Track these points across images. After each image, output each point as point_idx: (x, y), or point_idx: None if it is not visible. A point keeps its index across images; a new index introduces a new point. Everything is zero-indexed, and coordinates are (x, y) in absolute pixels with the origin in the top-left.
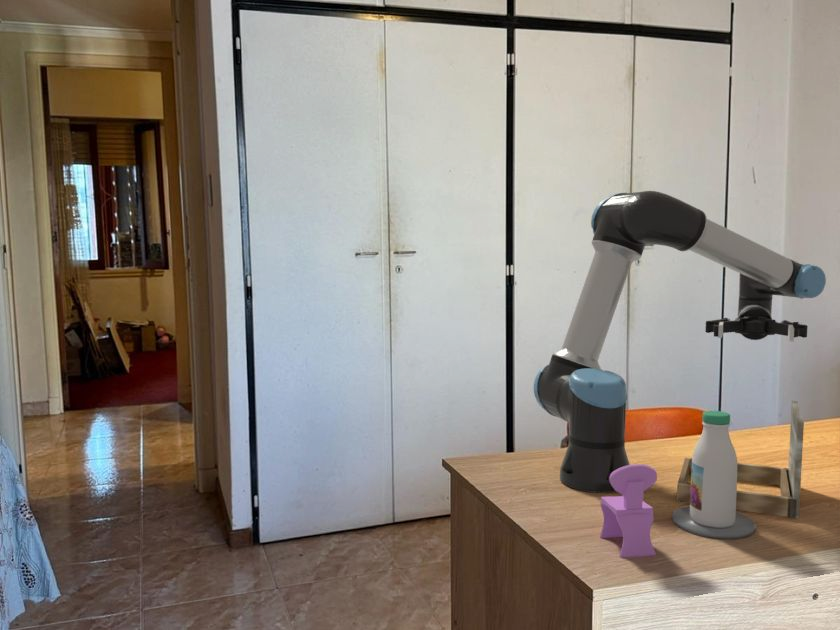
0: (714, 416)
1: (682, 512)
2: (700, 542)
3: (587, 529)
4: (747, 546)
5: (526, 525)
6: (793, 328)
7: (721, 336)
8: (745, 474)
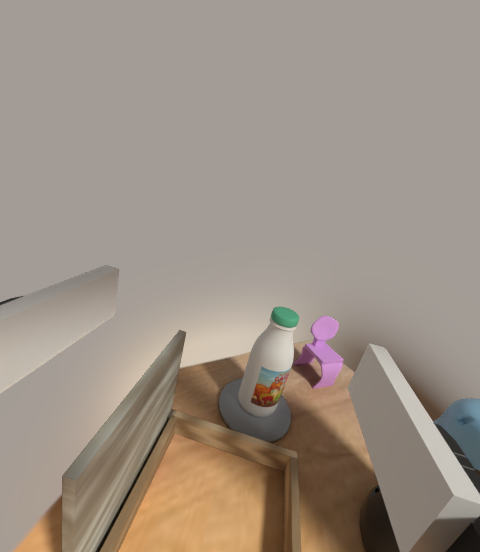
0: (287, 308)
1: (282, 420)
2: None
3: (346, 396)
4: (233, 371)
5: None
6: (107, 266)
7: (352, 383)
8: None
